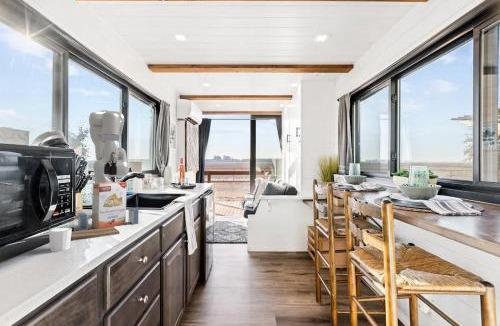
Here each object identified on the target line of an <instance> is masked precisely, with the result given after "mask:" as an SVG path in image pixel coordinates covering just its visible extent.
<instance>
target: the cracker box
mask: <svg viewBox="0 0 500 326" xmlns="http://www.w3.org/2000/svg"><path fill="white" fill-rule="evenodd" d="M127 184H128V183H127V182H125V181H112V182H106V183H95V182H93V183H92V203H91V205H92V206H91V207H92V208H91V210H92V212H91V229H97V228H105V227H117V226H121V225H126V220H127V219H126V218H127V217H126V215H127V214H126V213H127Z"/></svg>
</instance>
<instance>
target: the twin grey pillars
mask: <svg viewBox="0 0 500 326" xmlns="http://www.w3.org/2000/svg"><path fill="white" fill-rule="evenodd" d="M77 216H78V219H77V221H78V222H77V223H78V227H77V228H78V231H81V230H89V215H88V214H87V213H86V212H79V213H78V215H77ZM128 222H129V223H130V224H132V225H138V224H139V209H137V208H135V207H131V208H129V209H128Z"/></svg>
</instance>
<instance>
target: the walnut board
mask: <svg viewBox="0 0 500 326" xmlns="http://www.w3.org/2000/svg"><path fill="white" fill-rule="evenodd" d="M111 235H113V236H114V235H120V231H119V230H118V229H117V228H116V227H115V226H112V227H105V228H97V229H96V228H91V229H89V228H88V229H87V230H81V231H80V230H75V231H72V232H71V240H70V242H72V241H79V240H85V239H92V238H93V239H94V238H99V237H105V236H111Z"/></svg>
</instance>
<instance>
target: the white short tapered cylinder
mask: <svg viewBox="0 0 500 326" xmlns="http://www.w3.org/2000/svg"><path fill="white" fill-rule="evenodd" d="M72 230H73V228H71V227H57V228H52V229H49V230H48V238H49V239H48V240H49V247H50V251H51V252H52V253H53V252H55V253H56V252H57V253H58V252H63V251H68V250H69V249H70V247H71V241H70V240H71V232H73V231H72Z"/></svg>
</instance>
